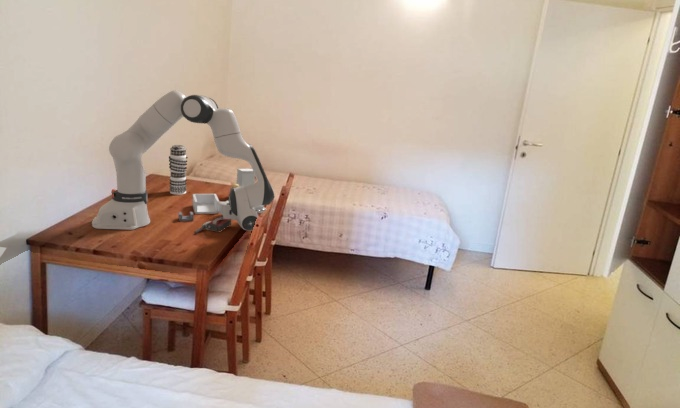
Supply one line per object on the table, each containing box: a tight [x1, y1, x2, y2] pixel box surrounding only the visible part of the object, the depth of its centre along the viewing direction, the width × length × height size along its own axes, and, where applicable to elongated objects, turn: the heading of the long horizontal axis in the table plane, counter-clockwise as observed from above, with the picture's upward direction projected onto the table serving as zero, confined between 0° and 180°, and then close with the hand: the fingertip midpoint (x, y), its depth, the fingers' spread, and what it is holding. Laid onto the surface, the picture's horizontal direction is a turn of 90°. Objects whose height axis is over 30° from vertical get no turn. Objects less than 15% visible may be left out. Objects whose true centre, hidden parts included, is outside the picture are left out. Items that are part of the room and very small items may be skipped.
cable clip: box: [178, 211, 194, 222], centre depth 213 cm, size 6×4×3 cm, turn 111°
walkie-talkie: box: [194, 216, 232, 234], centre depth 205 cm, size 9×4×20 cm
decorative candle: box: [168, 144, 188, 196], centre depth 248 cm, size 9×9×25 cm
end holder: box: [192, 193, 220, 215], centre depth 229 cm, size 11×13×6 cm
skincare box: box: [236, 168, 256, 187], centre depth 255 cm, size 8×6×15 cm
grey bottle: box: [229, 183, 239, 193], centre depth 227 cm, size 5×5×14 cm
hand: (238, 201), depth 218 cm, fingers open, 8 cm apart
